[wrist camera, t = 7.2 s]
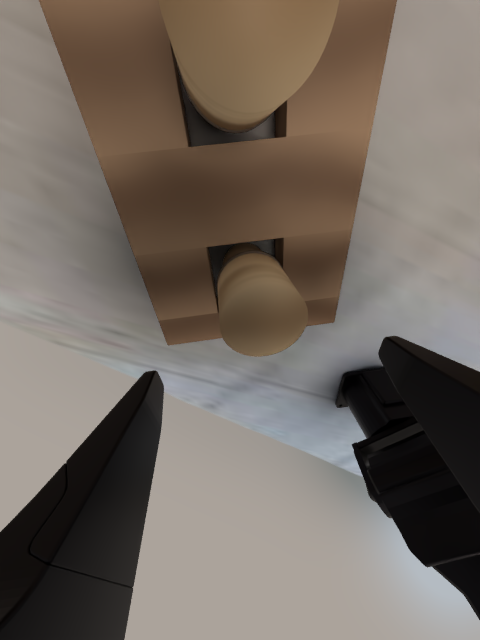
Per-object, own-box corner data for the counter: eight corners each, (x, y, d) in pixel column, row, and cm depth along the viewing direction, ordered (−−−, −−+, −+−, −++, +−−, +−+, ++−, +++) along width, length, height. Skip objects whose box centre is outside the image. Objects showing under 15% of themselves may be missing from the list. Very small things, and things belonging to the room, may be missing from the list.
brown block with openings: (322, 307, 21) (373, 373, 14) (172, 327, 20) (153, 405, 14) (384, -105, 9) (832, -806, 3) (33, -82, 9) (-539, -878, 2)
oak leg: (272, 286, 19) (305, 351, 12) (219, 293, 19) (224, 362, 12) (272, 231, 16) (313, 276, 10) (211, 239, 16) (211, 289, 10)
